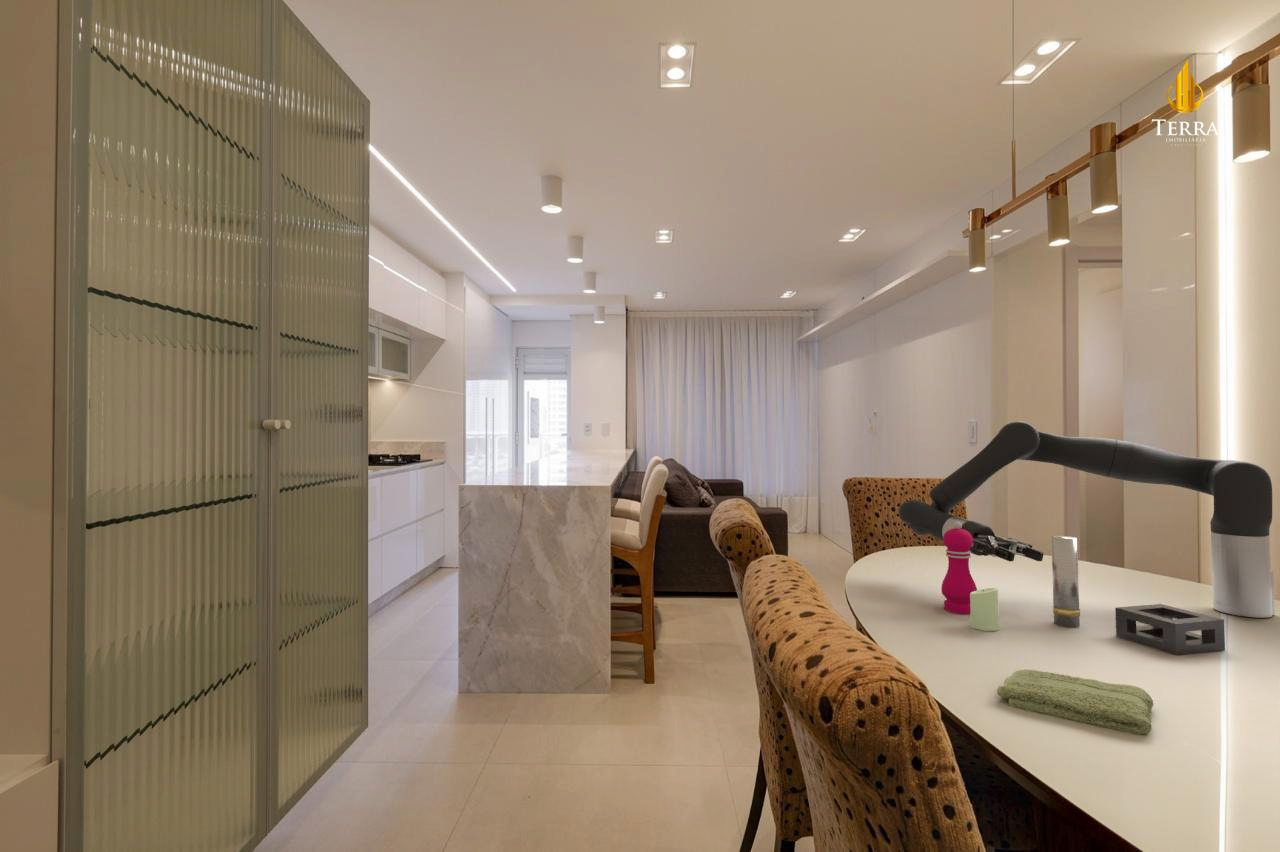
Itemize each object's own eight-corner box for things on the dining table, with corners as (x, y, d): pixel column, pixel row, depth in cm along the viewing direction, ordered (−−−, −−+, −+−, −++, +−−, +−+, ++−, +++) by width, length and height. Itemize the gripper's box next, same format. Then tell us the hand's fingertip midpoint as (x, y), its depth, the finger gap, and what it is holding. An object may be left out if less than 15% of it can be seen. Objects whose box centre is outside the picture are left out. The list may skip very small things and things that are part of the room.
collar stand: (1161, 631, 121) (1160, 603, 121) (1224, 650, 110) (1223, 619, 110) (1116, 635, 118) (1115, 607, 118) (1176, 655, 108) (1175, 624, 108)
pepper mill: (969, 606, 140) (967, 519, 141) (983, 615, 133) (981, 523, 134) (936, 605, 141) (934, 519, 141) (949, 614, 134) (947, 523, 134)
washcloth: (1012, 679, 99) (1011, 659, 99) (1154, 709, 87) (1153, 686, 87) (995, 706, 89) (994, 684, 89) (1153, 744, 77) (1152, 719, 78)
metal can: (1066, 620, 129) (1063, 535, 129) (1086, 626, 124) (1083, 538, 125) (1047, 621, 128) (1045, 536, 128) (1067, 628, 123) (1064, 539, 124)
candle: (967, 628, 124) (966, 587, 125) (974, 622, 128) (973, 583, 128) (995, 633, 121) (994, 591, 121) (1001, 627, 125) (1000, 587, 125)
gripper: (947, 519, 147) (1006, 540, 131) (991, 520, 151) (1054, 540, 136) (942, 550, 147) (1000, 573, 132) (987, 550, 152) (1048, 573, 137)
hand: (1027, 557), depth 134 cm, fingers open, 8 cm apart
